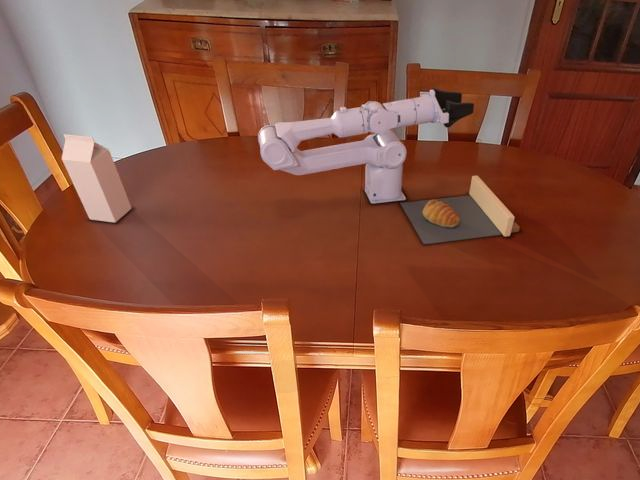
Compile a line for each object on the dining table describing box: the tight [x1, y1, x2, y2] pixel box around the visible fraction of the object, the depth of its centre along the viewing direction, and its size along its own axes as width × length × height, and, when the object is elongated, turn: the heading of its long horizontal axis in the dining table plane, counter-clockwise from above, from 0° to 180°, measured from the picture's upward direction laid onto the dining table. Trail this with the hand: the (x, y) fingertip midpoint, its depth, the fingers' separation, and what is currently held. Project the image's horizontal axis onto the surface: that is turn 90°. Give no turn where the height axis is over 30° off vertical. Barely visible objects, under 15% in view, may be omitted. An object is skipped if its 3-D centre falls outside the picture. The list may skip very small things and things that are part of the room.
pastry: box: [422, 199, 460, 227], centre depth 114 cm, size 9×7×4 cm
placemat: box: [399, 194, 503, 245], centre depth 116 cm, size 20×20×1 cm
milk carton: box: [61, 133, 132, 223], centre depth 109 cm, size 7×7×19 cm
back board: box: [468, 175, 521, 238], centre depth 116 cm, size 4×22×5 cm, turn 14°
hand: (467, 102), depth 112 cm, fingers open, 7 cm apart
